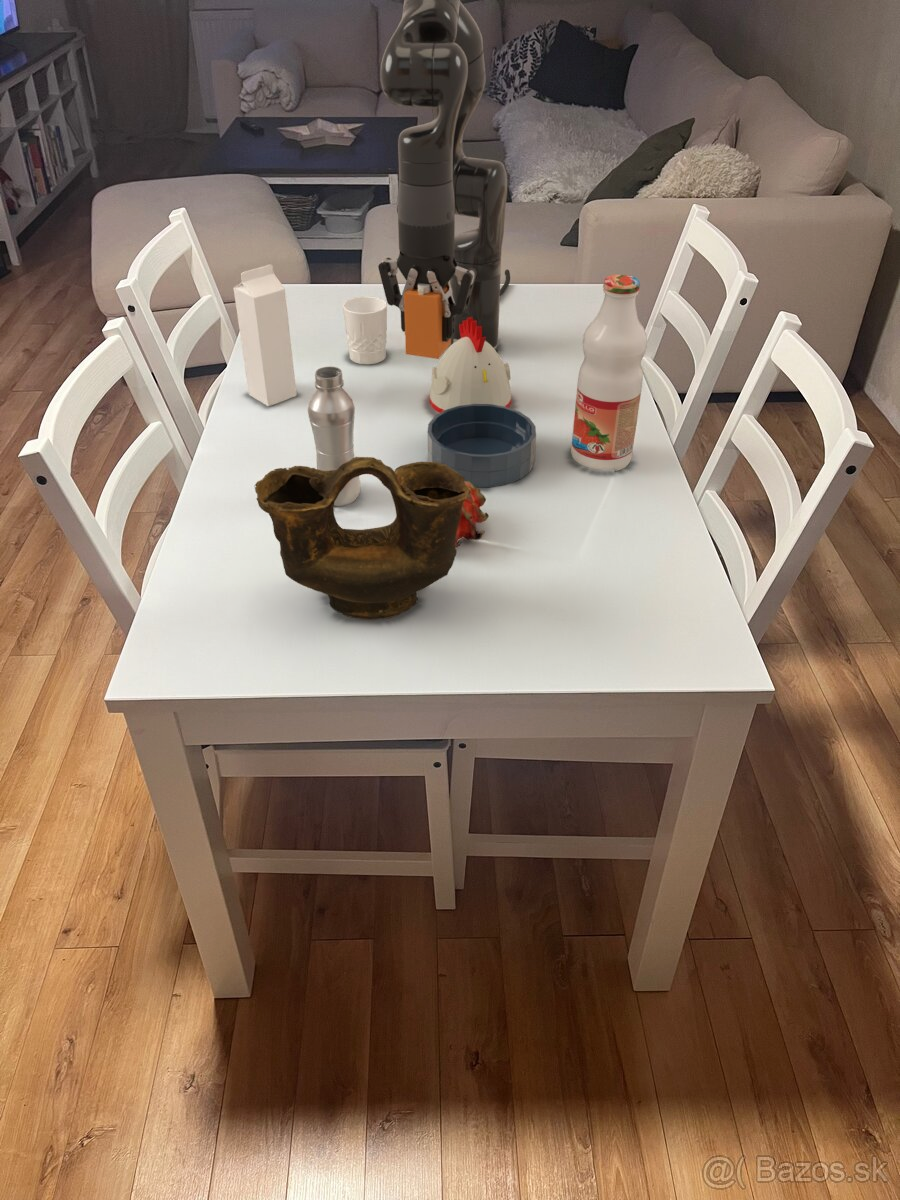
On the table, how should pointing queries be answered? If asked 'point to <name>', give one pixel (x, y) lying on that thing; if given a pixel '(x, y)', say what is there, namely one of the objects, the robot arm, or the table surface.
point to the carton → (424, 322)
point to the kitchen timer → (470, 373)
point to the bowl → (483, 443)
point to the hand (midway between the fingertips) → (427, 336)
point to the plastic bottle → (333, 427)
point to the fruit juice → (610, 380)
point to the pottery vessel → (366, 533)
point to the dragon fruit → (471, 515)
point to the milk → (265, 336)
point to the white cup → (366, 329)
